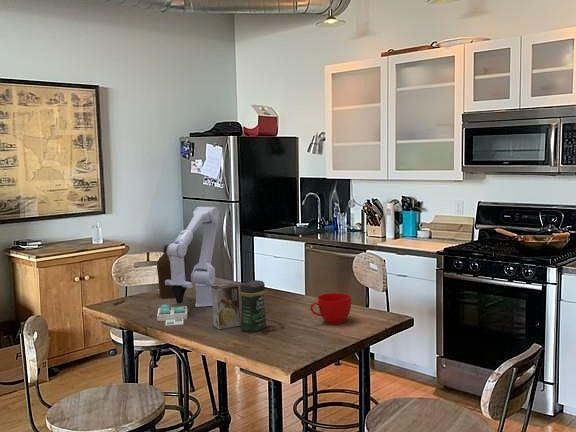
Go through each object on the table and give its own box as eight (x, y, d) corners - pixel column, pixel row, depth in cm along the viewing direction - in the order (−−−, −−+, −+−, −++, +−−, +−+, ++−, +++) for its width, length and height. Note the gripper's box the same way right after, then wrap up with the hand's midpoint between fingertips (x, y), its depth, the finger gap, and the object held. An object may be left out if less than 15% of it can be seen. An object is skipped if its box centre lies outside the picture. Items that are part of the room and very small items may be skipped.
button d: (169, 313, 247) (169, 307, 247) (169, 315, 243) (169, 309, 243) (160, 313, 246) (160, 307, 246) (160, 316, 242) (159, 310, 242)
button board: (187, 311, 255) (187, 305, 255) (187, 319, 243) (186, 313, 243) (159, 313, 253) (158, 308, 253) (157, 321, 241) (157, 315, 241)
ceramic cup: (304, 321, 234) (303, 296, 233) (341, 315, 240) (341, 291, 239) (318, 330, 222) (317, 304, 221) (357, 323, 229) (357, 298, 228)
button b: (184, 312, 248) (184, 306, 247) (184, 314, 244) (183, 308, 244) (175, 312, 247) (174, 306, 247) (174, 315, 243) (174, 309, 243)
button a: (184, 311, 254) (184, 305, 253) (184, 313, 250) (184, 307, 250) (175, 311, 253) (175, 306, 253) (175, 314, 249) (175, 308, 249)
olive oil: (185, 296, 283) (182, 244, 280) (164, 300, 277) (161, 247, 274) (175, 292, 291) (172, 242, 289) (154, 296, 285) (151, 245, 282)
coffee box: (234, 322, 237) (232, 282, 235) (240, 325, 231) (239, 285, 229) (213, 325, 233) (211, 285, 231) (218, 329, 227) (216, 288, 225)
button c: (170, 309, 253) (170, 303, 252) (170, 311, 249) (169, 305, 249) (161, 310, 252) (160, 304, 252) (160, 312, 248) (160, 306, 248)
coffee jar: (253, 333, 220) (251, 284, 218) (237, 330, 225) (235, 282, 223) (270, 327, 228) (268, 280, 226) (254, 324, 233) (252, 277, 231)
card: (183, 319, 243) (183, 318, 242) (183, 324, 236) (183, 323, 236) (166, 321, 241) (166, 319, 241) (165, 325, 235) (165, 324, 235)
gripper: (158, 271, 251) (160, 303, 252) (183, 274, 242) (185, 307, 244) (171, 268, 256) (173, 299, 258) (195, 271, 248) (197, 303, 249)
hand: (179, 302), depth 251 cm, fingers closed
